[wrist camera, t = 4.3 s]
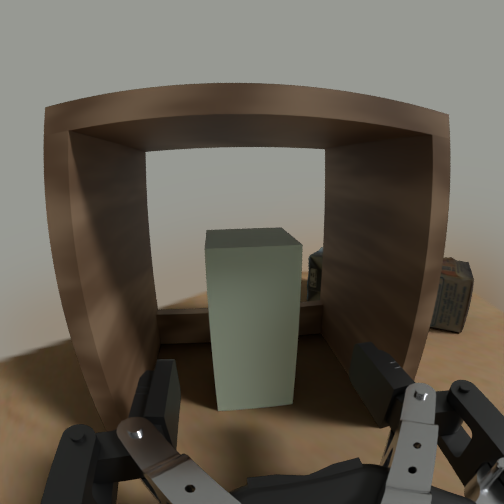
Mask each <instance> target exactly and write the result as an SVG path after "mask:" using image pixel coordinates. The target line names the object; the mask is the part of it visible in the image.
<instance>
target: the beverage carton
mask: <svg viewBox="0 0 504 504" xmlns="http://www.w3.org/2000/svg"><path fill="white" fill-rule="evenodd" d="M322 263H323V247H321V248H320V250H319V251H317V252H315V253H314V254H311V255H310V256H309V274H308V281H307V301H318V300H320V293H321V279H322ZM473 282H474V278H473V276H472V272H471V269H470V266H469V263H468V262H463V261H457V260H455V259H453V258H451V257H450V258H447V257H445V258H443V263H442V270H441V276H440V281H439V287H438V292H437V297H436V302H435V306H434V311H433V315H432V319H431V324H430V327H434V328H439V329H444V330H449V331H454V332H459V333H461V332H462V330H463V327H464V324H465V321H466V317H467V314H468V310H469V306H470V302H471V297H472V291H473Z"/></svg>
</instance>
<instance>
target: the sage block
mask: <svg viewBox="0 0 504 504" xmlns="http://www.w3.org/2000/svg"><path fill="white" fill-rule="evenodd" d="M302 246H303V245H302V244H301V243H300V242H298V241H297V240H296V239H295V238H293V237H292V236H291V235H290V234H289V233H287V232H286V231H285V230H284V229H283V228H253V229H226V230H207V232H206V241H205V263H206V279H207V295H208V309H209V322H210V335H211V346H212V357H213V368H214V378H215V387H216V396H217V405H218V411H227V410H242V409H253V408H263V407H273V406H281V405H288V404H292V403H293V393H294V382H295V370H296V358H297V344H298V330H299V313H300V295H301V274H302Z"/></svg>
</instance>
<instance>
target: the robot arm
mask: <svg viewBox="0 0 504 504" xmlns="http://www.w3.org/2000/svg"><path fill="white" fill-rule="evenodd" d="M349 378H350V381H351V383H352V385H353V387H354V388H355V390H356V391H357V393H358V394H359V396H360V398H361V399H362V401H363V402H364V404H365V406H366V407H367V409H368V410H369V412H370V414H371V415H372V417H373V418H374V420H375V422H376V423H377V425H378V426H379V428H384V427H387V426H390V428H391V430H390V432H389V435H388V439H387V443H386V446H385V450H384V453H383V456H382V459H381V462H380V465H374V464H362V463H361V461H360V459H359V457H358V458H355V459H351V460H347V461H343V462H339V463H335V464H332V465H330V466H328V467H326V468H324V469H321V470H319V471H317V472H315V473H312V474H310V475H268V476H260V477H250V478H247V485H246V486H242V487H240V488H237V489H235V490H233V491H231V492H229V493H228V492H227V491H226V490H225V489H223V488H222V487H221V486H220V485H219V484H218V483H217V482H215V481H214V480H213V479H212V478H211V477H210V476H209V475H208V474H207V473H206V472H204V471H203V470H202V469H201V468H200V467H199V466H198V465H197V464H196V463H195V462H194V461H193V460H192V459H191V458H190V457H189V456H188V455H186V454H182V455H181V454H179V453H178V452H177V451H176V447H177V434H178V422H179V411H180V401H181V391H180V384H179V379H178V373H177V368H176V362H175V359H158V360H157V362H156V366H155V370H146V371H145V372H144V373H143V374H142V376H141V377H140V378H139V381H138V385H137V388H136V391H135V395H134V398H133V402H132V405H131V409H130V413H129V416H128V418H127V419H125V420H123V421H122V422H121V423H120V424H119V425H118V427H117V429H116V430H113V431H107V432H100V433H95V432H94V430H93V429H92V428H91V427H89V426H87V425H83V424H77V425H73V426H70V427H69V428H67V429H66V430H65V431H64V432H63V434H62V437H61V439H60V442H59V445H58V448H57V451H56V454H55V457H54V460H53V463H52V466H51V470H50V473H49V476H48V479H47V483H46V486H45V490H44V493H43V497H42V501H41V504H116V500H117V491H118V482H120V481H127V480H133V479H139V478H140V480H141V481H142V482H143V484H144V485H145V486H146V488H147V489H148V490H149V491H150V493H151V494H152V495H153V496H154V498H155V499H156V500H157V501H158V502H159V504H504V416H503V415H502V414H501V413H500V412H499V411H498V409H497V408H496V407H495V406H494V405H493V404H492V403H491V402H490V401H489V400H488V399H487V398H486V397H485V396H484V394H483V393H482V392H481V391H480V390H479V389H478V388H477V387H476V386H475V385H474V384H473V383H471V382H469V381H466V380H457V381H455V382H453V383H452V385H451V387H450V389H449V391H437V392H435V390H434V389H433V388H432V387H431V386H429V385H427V384H424V383H415V382H414V381H413V380H412V378H411V377H410V376H409V375H408V374H407V373H406V372H405V371H404V369H403V368H402V367H400V365H399V364H398V363H397V362H396V361H395V359H394V358H393V357H392V356H391V355H390V354H388V353H386V352H385V351H383V350H378V349H377V347H376V346H375V345H374V344H373V343H372V342H364V343H358V344H355V345H354V348H353V353H352V358H351V363H350V369H349ZM463 421H465V423H466V424H467V425H468V426H469V428H470V429H471V431H472V439H471V438H470V437H469V435H468V434H467V433H466V431H465V430H464V429H463V427H462V426H461V424H462V423H463ZM437 444H438V446H439V447H440V449H441V451H442V452H443V454H444V455H445V457H446V458H447V460H448V461H449V463H450V464H451V466H452V468H453V469H454V471H455V472H456V474H457V476H458V477H459V479H460V480H461V482H462V483H463V485H464V487H465V489H464V496H465V497H463V496H460V495H456V494H453V493H450V492H448V491H445V490H442V489H439V488H436V487H434V486H431V483H432V477H433V471H434V464H435V457H436V449H437Z"/></svg>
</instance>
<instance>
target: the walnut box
mask: <svg viewBox="0 0 504 504" xmlns="http://www.w3.org/2000/svg"><path fill="white" fill-rule="evenodd" d="M212 147H213V148H215V147H290V148H314V149H325V216H324V243H323V263H322V279H321V293H320V300H318V301H307V302H300V313H299V330H298V335H307V334H316V333H321V334H322V335H323V337H324V338H325V340H326V341H327V343H328V344H329V346H330V348H331V349H332V351H333V352H334V354H335V355H336V357H337V358H338V360H339V361H340V363H341V364H342V366H343V367H344V369H345V370H346V372H347V374H348V375H349V369H350V363H351V358H352V353H353V348H354V345H355V344H358V343H364V342H372V343H373V344H374V345H375V346H376V347H377V349H378V350H383V351H385V352H386V353H388V354H390V355H391V356H392V357H393V358H394V359H395V361H396V362H397V363H398V364H399V365H400V367H402V368H403V369H404V371H405V372H406V373H407V374H408V375H409V376H410V377H411V378H412V380H413V381H414V379H415V376H416V373H417V370H418V366H419V363H420V360H421V357H422V353H423V350H424V346H425V343H426V339H427V335H428V332H429V328H430V324H431V319H432V315H433V311H434V306H435V302H436V297H437V292H438V287H439V281H440V276H441V270H442V263H443V256H444V248H445V241H446V232H447V222H448V210H449V194H450V129H449V115H448V114H445V113H441V112H438V111H435V110H431V109H428V108H424V107H420V106H416V105H412V104H408V103H404V102H399V101H395V100H390V99H386V98H381V97H376V96H371V95H365V94H359V93H353V92H347V91H340V90H333V89H325V88H316V87H306V86H295V85H280V84H262V83H207V84H185V85H172V86H161V87H150V88H143V89H134V90H128V91H120V92H114V93H108V94H102V95H97V96H92V97H87V98H82V99H78V100H73V101H68V102H64V103H60V104H56V105H52V106H49V107H46V108H45V120H44V183H45V199H46V211H47V221H48V230H49V238H50V244H51V251H52V258H53V264H54V269H55V274H56V279H57V284H58V289H59V293H60V298H61V302H62V307H63V310H64V314H65V318H66V322H67V325H68V329H69V333H70V336H71V340H72V343H73V346H74V350H75V353H76V356H77V359H78V362H79V365H80V368H81V371H82V373H83V376H84V379H85V382H86V384H87V387H88V389H89V392H90V395H91V397H92V399H93V402H94V404H95V407H96V409H97V411H98V414H99V416H100V418H101V420H102V423H103V425H104V427H105V429H106V431H113V430H116V429H117V427H118V425H119V424H120V423H121V422H122V421H123V420H125V419H127V418H128V416H129V413H130V409H131V405H132V402H133V398H134V395H135V391H136V388H137V385H138V381H139V378H140V377H141V376H142V374H143V373H144V372H145V371H146V370H154V369H155V365H156V361H157V357H158V353H159V349H160V345H161V343H202V342H211V335H210V322H209V309H208V308H198V309H167V310H158V307H157V300H156V292H155V285H154V277H153V267H152V257H151V247H150V236H149V223H148V209H147V190H146V189H147V188H146V159H145V158H146V157H145V152H148V151H160V150H174V149H191V148H212Z"/></svg>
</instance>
